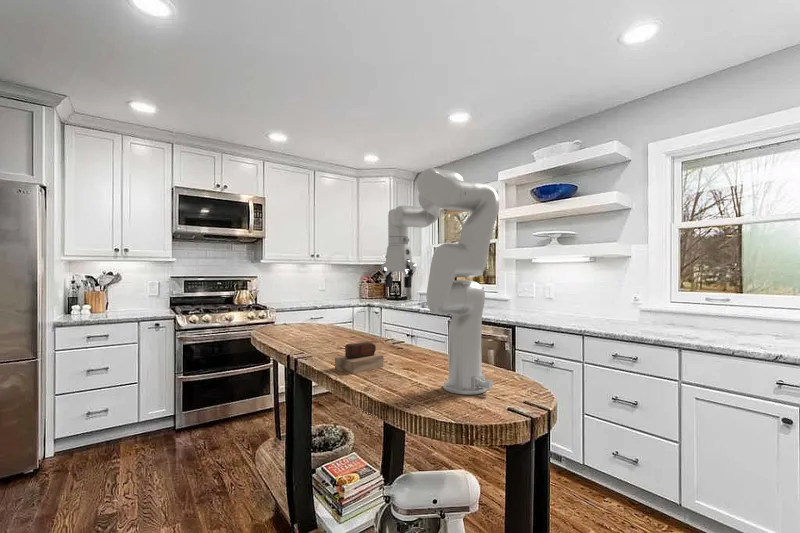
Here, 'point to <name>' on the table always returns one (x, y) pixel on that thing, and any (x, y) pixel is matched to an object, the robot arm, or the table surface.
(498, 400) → the table surface
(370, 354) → the brick
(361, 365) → the base block
